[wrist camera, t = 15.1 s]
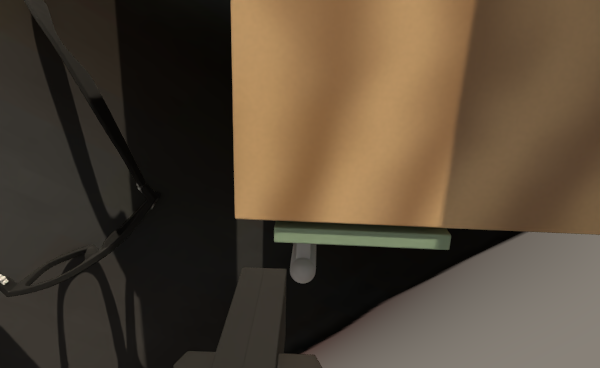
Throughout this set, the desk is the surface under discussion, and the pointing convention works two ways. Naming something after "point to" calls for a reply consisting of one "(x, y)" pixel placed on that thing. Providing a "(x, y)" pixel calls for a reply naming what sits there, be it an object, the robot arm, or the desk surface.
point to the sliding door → (350, 240)
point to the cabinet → (418, 113)
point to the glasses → (105, 118)
